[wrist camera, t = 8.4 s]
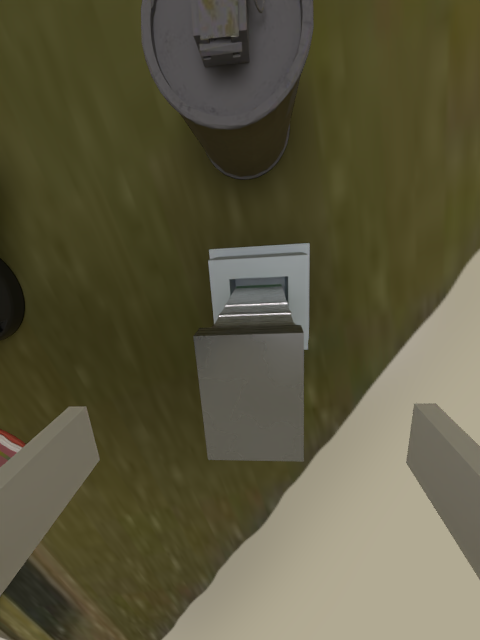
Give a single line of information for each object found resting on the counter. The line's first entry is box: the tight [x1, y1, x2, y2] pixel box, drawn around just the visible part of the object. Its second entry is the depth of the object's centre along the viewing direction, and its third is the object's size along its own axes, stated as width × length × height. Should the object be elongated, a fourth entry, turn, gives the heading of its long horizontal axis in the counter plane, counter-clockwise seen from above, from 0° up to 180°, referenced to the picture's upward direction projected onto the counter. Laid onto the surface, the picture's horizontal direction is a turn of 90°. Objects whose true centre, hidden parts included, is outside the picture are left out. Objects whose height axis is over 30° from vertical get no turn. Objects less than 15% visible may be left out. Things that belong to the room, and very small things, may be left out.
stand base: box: [208, 243, 310, 349], centre depth 34 cm, size 13×13×9 cm
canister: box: [141, 0, 313, 179], centre depth 23 cm, size 11×10×20 cm
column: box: [194, 284, 304, 461], centre depth 23 cm, size 5×7×19 cm
